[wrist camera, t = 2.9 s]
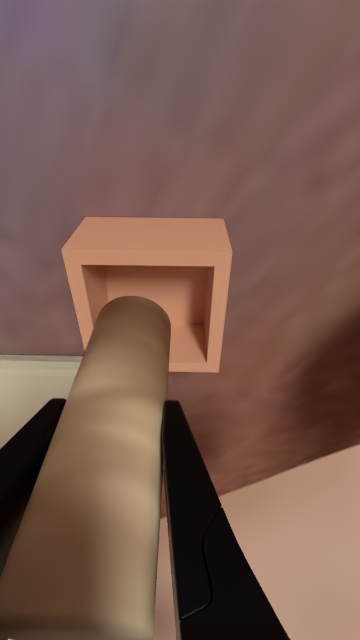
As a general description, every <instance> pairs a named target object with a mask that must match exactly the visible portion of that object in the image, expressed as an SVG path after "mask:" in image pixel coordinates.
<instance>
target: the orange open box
mask: <svg viewBox="0 0 360 640" xmlns="http://www.w3.org/2000/svg"><path fill="white" fill-rule="evenodd" d="M61 250H62V254H63V258H64V263H65V267H66V271H67V276H68V280H69V284H70V289H71V293H72V297H73V302H74V306H75V310H76V315H77V319H78V323H79V328H80V332H81V336H82V341H83V345H84V349H85V350H86V347H87V344H88V342H89V339H90V336H91V334H92V331H93V328H94V326H95V323H96V320H97V318H98V315H99V313H100V311H101V309H102V308H103V307H104V305H106V304H107V303H108V302H110V301H111V300H113V299H115V298H118V297H122V296H139V297H144V298H147V299H149V300H152V301H153V302H155V303H157V304H158V305H159V306H161V307H162V308H163V309H164V311H165V312H166V313H167V315H168V317H169V319H170V322H171V339H170V356H169V372H219V365H220V356H221V347H222V339H223V330H224V321H225V312H226V304H227V295H228V286H229V277H230V268H231V260H232V248H231V245H230V241H229V238H228V234H227V230H226V227H225V223H224V219H209V218H130V217H85V219H84V220H83V221H82V223H81V224H80V225H79V227H78V228H77V229H76V231H75V232H74V233H73V235H72V236H71V237H70V239H69V240H68V241H67V243H66V244H65V245H64V247H63V248H62V249H61Z"/></svg>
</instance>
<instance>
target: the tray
mask: <svg viewBox="0 0 360 640" xmlns="http://www.w3.org/2000/svg"><path fill="white" fill-rule="evenodd" d="M82 358H83V356H46V355H0V449H1V448H2V447H3V446H4V445H5V444H6V443H7V442H8V441H9V440H10V439H11V438H12V437H13V436H14V435H15V434H16V433H17V432H18V431H19V430H20V429H21V428H22V427H23V426H24V425H25V424H26V423H27V422H28V421H29V420H30V419H31V418H32V417H33V416H34V415H35V414H36V413H37V412H38V411H39V410H40V409H41V408H42V407H43V406H44V405H45V404H46V403H47V402H48V401H49V400H50V399H52V398H65V399H66V400H67V398H68V395H69V392H70V390H71V387H72V384H73V382H74V379H75V376H76V374H77V371H78V368H79V366H80V363H81V360H82ZM163 467H164V465H163Z"/></svg>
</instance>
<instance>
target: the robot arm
mask: <svg viewBox="0 0 360 640" xmlns="http://www.w3.org/2000/svg"><path fill="white" fill-rule="evenodd" d="M65 403H66V399H65V398H52V399H50V400H49V401H48V402H47V403H46V404H45V405H44V406H43V407H42V408H41V409H40V410H39V411H38V412H37V413H36V414H35V415H34V416H33V417H32V418H31V419H30V420H29V421H28V422H27V423H26V424H25V425H24V426H23V427H22V428H21V429H20V430H19V431H18V432H17V433H16V434H15V435H14V436H13V437H12V438H11V439H10V440H9V441H8V442H7V443H6V444H5V445H4V446H3V447H2V448H1V449H0V576H1V574H2V571H3V568H4V566H5V563H6V560H7V558H8V555H9V552H10V550H11V547H12V544H13V542H14V539H15V536H16V534H17V531H18V528H19V526H20V523H21V520H22V518H23V515H24V512H25V510H26V507H27V504H28V502H29V499H30V496H31V494H32V491H33V488H34V486H35V483H36V480H37V478H38V475H39V472H40V470H41V467H42V464H43V462H44V459H45V456H46V454H47V451H48V448H49V446H50V443H51V440H52V438H53V435H54V432H55V430H56V427H57V424H58V422H59V419H60V416H61V414H62V411H63V408H64V406H65ZM162 444H163V465H164V484H165V497H166V510H167V523H168V534H169V535H168V536H169V548H170V560H171V575H172V588H173V600H174V614H175V626H176V639H177V640H290V638H289V637H288V635H287V633H286V632H285V630H284V628H283V626H282V625H281V623H280V621H279V619H278V618H277V616H276V614H275V612H274V610H273V608H272V606H271V604H270V603H269V601H268V599H267V597H266V596H265V594H264V592H263V590H262V588H261V586H260V584H259V582H258V581H257V579H256V577H255V575H254V573H253V571H252V570H251V568H250V566H249V564H248V562H247V560H246V558H245V556H244V554H243V552H242V550H241V548H240V546H239V544H238V542H237V540H236V538H235V536H234V533H233V531H232V529H231V526H230V524H229V522H228V519H227V517H226V514H225V512H224V510H223V508H222V507H221V503H220V500H219V498H218V495H217V493H216V490H215V488H214V485H213V483H212V481H211V478H210V476H209V473H208V471H207V468H206V466H205V463H204V461H203V459H202V456H201V454H200V451H199V449H198V446H197V444H196V441H195V439H194V437H193V434H192V432H191V429H190V427H189V424H188V422H187V419H186V417H185V415H184V412H183V410H182V407H181V405H180V402H179V401H178V400H166V401H165V407H164V419H163V431H162ZM0 640H8V638H5V637H2V636H0Z"/></svg>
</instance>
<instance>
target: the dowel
mask: <svg viewBox="0 0 360 640" xmlns="http://www.w3.org/2000/svg"><path fill="white" fill-rule="evenodd" d="M170 339H171V322H170V319H169V317H168V315H167V313H166V312H165V311H164V309H163V308H162V307H161V306H159V305H158V304H157V303H155V302H153V301H152V300H149V299H147V298H144V297H139V296H122V297H118V298H115V299H113V300H111V301H110V302H108V303H107V304H106V305H104V307H103V308H102V309H101V311H100V313H99V315H98V318H97V320H96V323H95V326H94V328H93V331H92V334H91V336H90V339H89V342H88V344H87V347H86V350H85V352H84V355H83V358H82V360H81V363H80V366H79V368H78V371H77V374H76V376H75V379H74V382H73V384H72V387H71V390H70V392H69V395H68V398H67V400H66V403H65V406H64V408H63V411H62V414H61V416H60V419H59V422H58V424H57V427H56V430H55V432H54V435H53V438H52V440H51V443H50V446H49V448H48V451H47V454H46V456H45V459H44V462H43V464H42V467H41V470H40V472H39V475H38V478H37V480H36V483H35V486H34V488H33V491H32V494H31V496H30V499H29V502H28V504H27V507H26V510H25V512H24V515H23V518H22V520H21V523H20V526H19V528H18V531H17V534H16V536H15V539H14V542H13V544H12V547H11V550H10V552H9V555H8V558H7V560H6V563H5V566H4V568H3V571H2V574H1V576H0V636H2V637H5V638H9V639H13V640H150V639H151V638H152V637H153V631H154V614H155V596H156V579H157V563H158V561H157V560H158V545H159V527H160V511H161V494H162V476H163V444H162V431H163V419H164V407H165V401H166V400H167V390H168V373H169V356H170Z"/></svg>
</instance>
